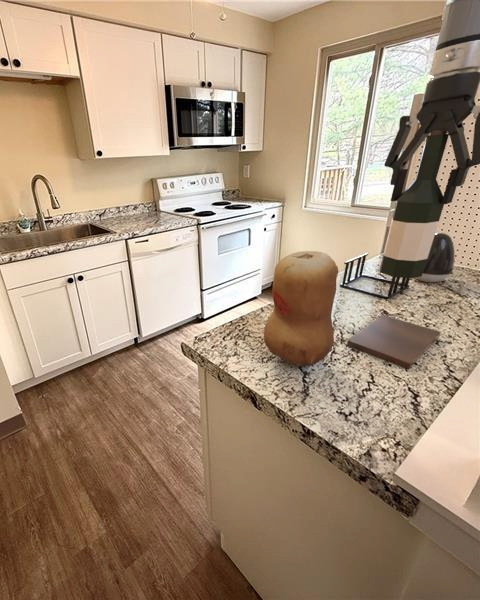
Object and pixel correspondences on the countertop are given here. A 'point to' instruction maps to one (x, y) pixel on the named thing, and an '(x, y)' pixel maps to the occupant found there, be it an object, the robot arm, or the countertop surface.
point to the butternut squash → (302, 308)
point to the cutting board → (394, 340)
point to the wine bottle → (416, 215)
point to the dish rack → (402, 285)
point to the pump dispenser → (439, 259)
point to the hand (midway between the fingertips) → (419, 201)
